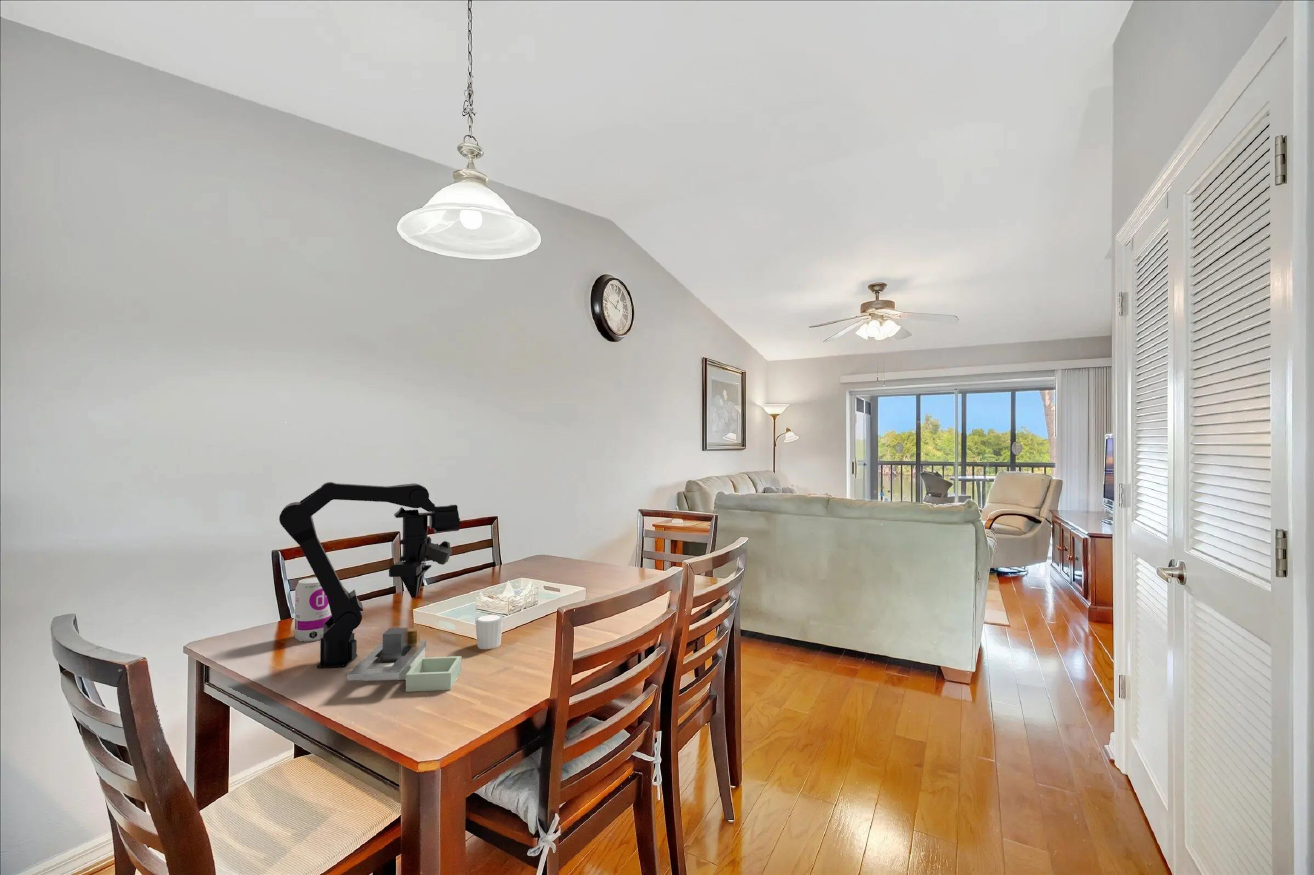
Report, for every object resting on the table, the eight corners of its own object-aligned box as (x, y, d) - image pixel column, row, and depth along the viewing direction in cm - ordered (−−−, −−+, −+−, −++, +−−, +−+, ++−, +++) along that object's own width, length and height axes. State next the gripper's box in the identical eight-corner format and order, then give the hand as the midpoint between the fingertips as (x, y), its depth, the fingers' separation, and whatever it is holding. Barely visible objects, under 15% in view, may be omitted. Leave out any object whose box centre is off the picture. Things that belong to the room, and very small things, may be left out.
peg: (377, 676, 121) (378, 635, 121) (387, 666, 126) (387, 627, 126) (403, 675, 122) (403, 634, 122) (411, 665, 127) (411, 626, 127)
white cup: (494, 651, 136) (495, 622, 136) (469, 649, 137) (469, 620, 137) (507, 641, 143) (508, 614, 143) (483, 639, 144) (483, 612, 144)
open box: (405, 691, 114) (405, 674, 114) (419, 673, 123) (419, 657, 123) (450, 689, 115) (450, 673, 115) (461, 671, 124) (461, 656, 124)
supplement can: (337, 635, 146) (338, 578, 146) (304, 645, 139) (305, 585, 139) (322, 629, 150) (322, 574, 151) (288, 638, 144) (289, 581, 144)
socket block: (380, 662, 128) (380, 649, 128) (424, 660, 130) (425, 648, 130) (362, 681, 119) (362, 667, 119) (410, 679, 120) (410, 665, 120)
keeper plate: (382, 647, 129) (382, 629, 129) (426, 645, 130) (426, 627, 130) (347, 680, 111) (347, 659, 111) (398, 678, 112) (398, 657, 112)
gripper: (437, 540, 129) (437, 607, 129) (457, 527, 147) (457, 586, 147) (388, 541, 127) (387, 608, 127) (414, 528, 146) (414, 587, 146)
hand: (414, 596), depth 137 cm, fingers closed
